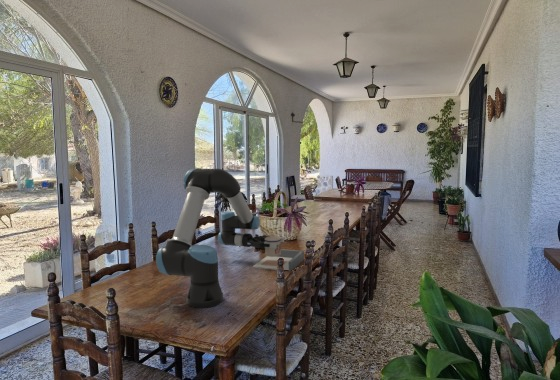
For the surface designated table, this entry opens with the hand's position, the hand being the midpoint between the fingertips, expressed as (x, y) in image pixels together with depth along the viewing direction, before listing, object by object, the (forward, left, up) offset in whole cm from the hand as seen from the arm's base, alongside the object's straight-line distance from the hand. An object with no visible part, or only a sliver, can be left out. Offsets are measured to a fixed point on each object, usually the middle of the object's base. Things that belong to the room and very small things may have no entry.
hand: (280, 242), depth 208 cm
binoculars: (+25, +22, -13) cm, 35 cm away
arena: (+3, +2, -13) cm, 13 cm away
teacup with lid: (0, +4, -7) cm, 8 cm away
